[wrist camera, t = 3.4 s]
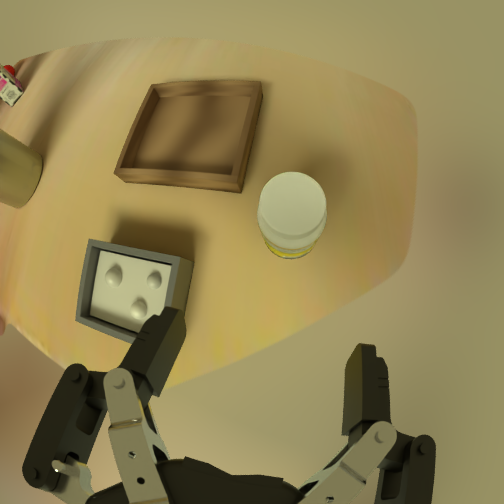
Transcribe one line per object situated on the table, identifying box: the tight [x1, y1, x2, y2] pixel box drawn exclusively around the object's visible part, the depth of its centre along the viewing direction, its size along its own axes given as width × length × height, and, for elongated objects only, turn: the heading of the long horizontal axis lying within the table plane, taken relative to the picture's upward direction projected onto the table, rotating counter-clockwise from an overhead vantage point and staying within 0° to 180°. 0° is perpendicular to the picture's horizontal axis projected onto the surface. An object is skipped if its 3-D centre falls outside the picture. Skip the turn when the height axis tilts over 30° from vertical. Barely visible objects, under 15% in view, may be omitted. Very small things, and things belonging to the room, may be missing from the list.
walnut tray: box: [114, 81, 263, 193], centre depth 25 cm, size 13×12×3 cm
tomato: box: [3, 65, 15, 76], centre depth 37 cm, size 10×11×6 cm
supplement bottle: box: [257, 172, 327, 259], centre depth 20 cm, size 5×5×8 cm
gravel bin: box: [75, 239, 194, 344], centre depth 23 cm, size 10×8×4 cm
